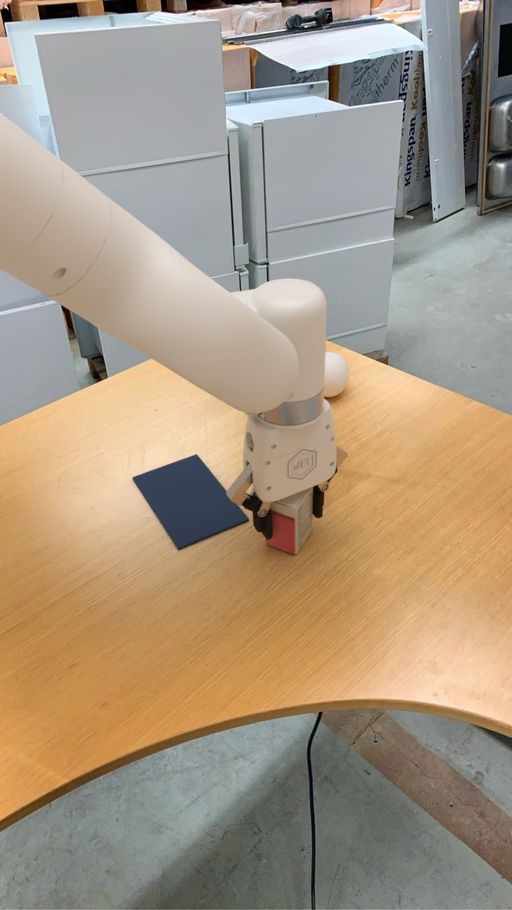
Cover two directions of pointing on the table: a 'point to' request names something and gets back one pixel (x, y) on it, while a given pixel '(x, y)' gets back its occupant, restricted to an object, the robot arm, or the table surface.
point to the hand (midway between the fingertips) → (289, 520)
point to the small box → (292, 521)
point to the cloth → (189, 501)
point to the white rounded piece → (335, 374)
